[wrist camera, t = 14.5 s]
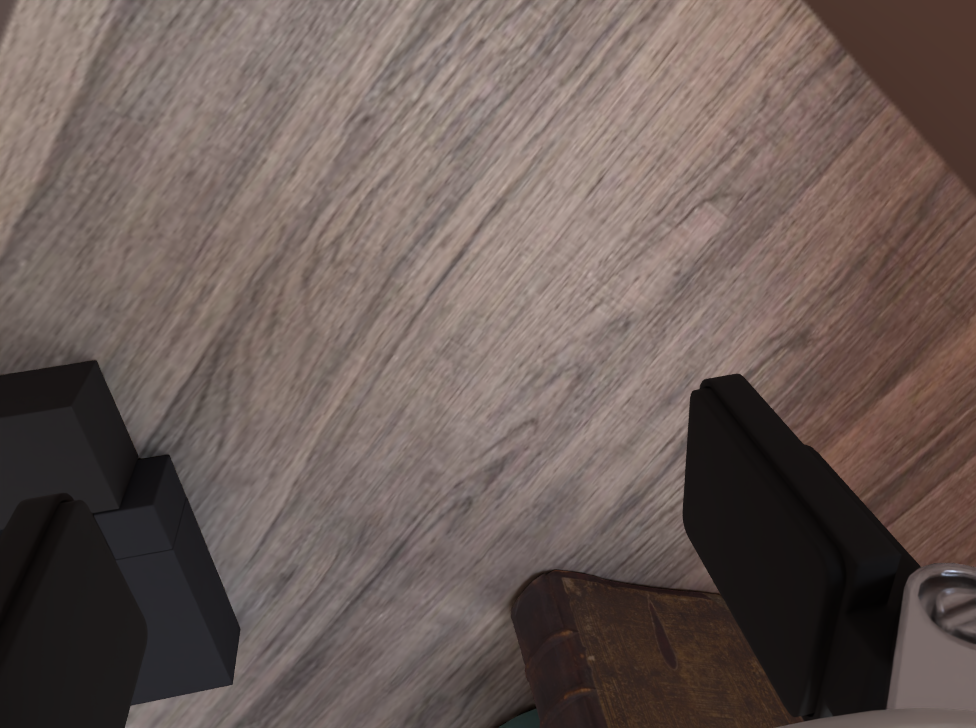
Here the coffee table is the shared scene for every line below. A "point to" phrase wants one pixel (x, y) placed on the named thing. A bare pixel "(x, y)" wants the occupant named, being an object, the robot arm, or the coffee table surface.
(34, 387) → the pad
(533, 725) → the flower pot
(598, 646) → the book
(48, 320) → the coffee table surface
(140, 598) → the notch pad
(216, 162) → the coffee table surface
